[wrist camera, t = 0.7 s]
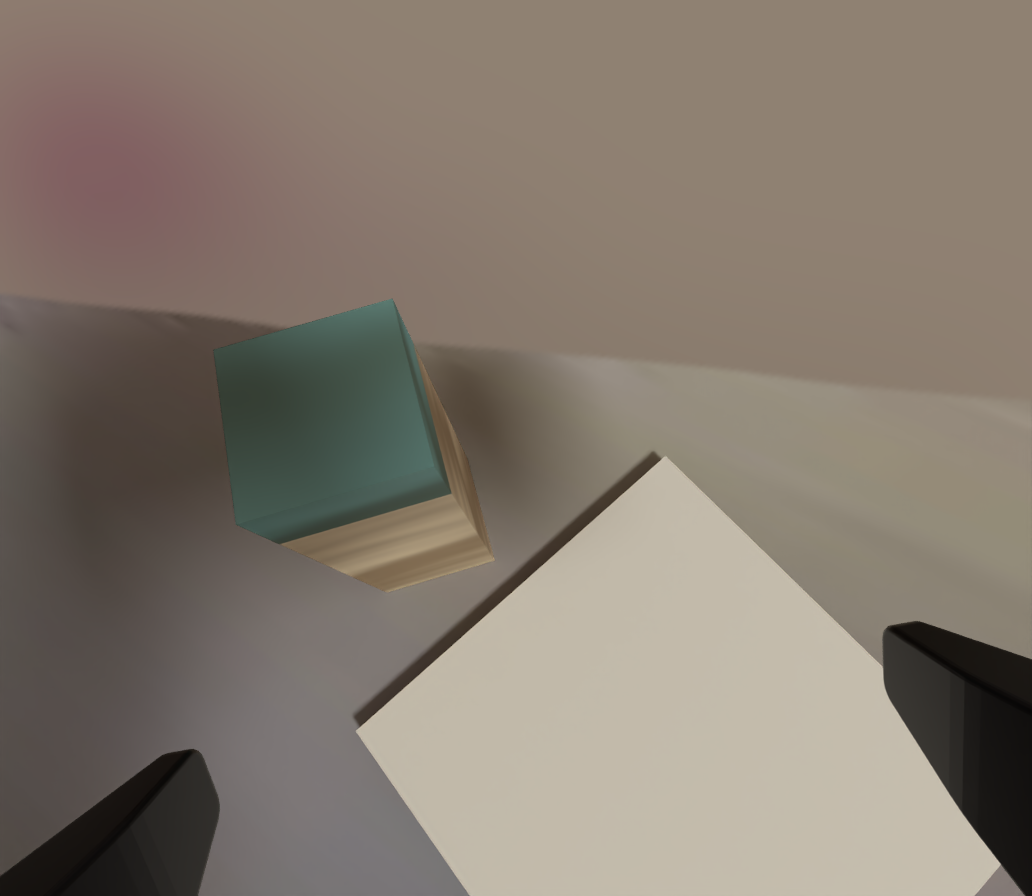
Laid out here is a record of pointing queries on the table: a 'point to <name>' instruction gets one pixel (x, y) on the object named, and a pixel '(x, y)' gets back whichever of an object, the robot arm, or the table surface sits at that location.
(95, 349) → the table surface
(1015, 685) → the robot arm
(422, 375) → the birch block
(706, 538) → the cream square tile
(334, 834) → the table surface
